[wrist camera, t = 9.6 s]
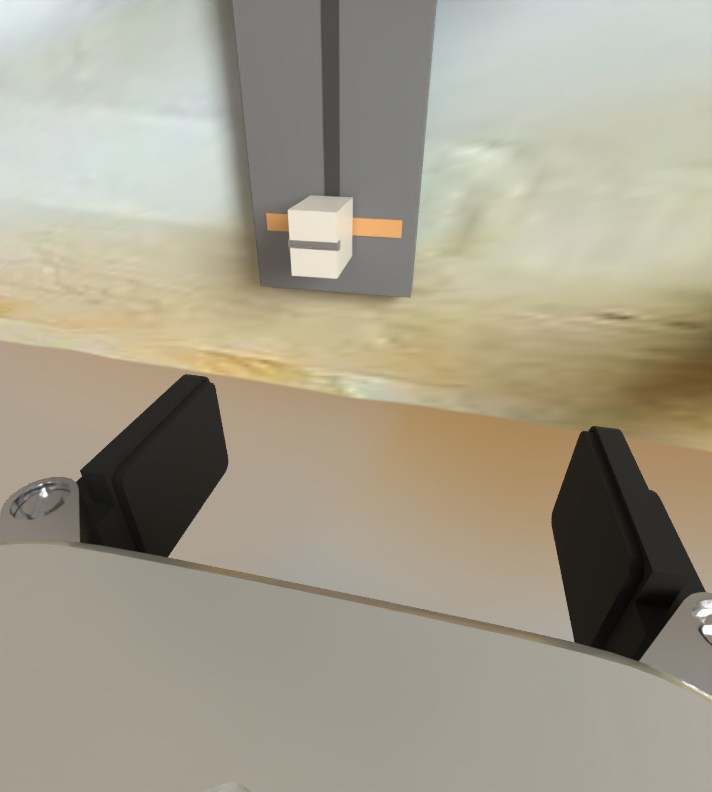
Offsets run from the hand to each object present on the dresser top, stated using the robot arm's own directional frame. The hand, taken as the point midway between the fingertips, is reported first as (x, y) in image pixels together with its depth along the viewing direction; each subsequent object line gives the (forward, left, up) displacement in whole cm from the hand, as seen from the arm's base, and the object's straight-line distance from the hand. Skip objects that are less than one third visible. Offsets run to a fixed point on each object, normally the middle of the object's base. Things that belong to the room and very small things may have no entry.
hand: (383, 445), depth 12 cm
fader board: (+7, -7, -26) cm, 28 cm away
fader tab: (+7, 0, -24) cm, 25 cm away
